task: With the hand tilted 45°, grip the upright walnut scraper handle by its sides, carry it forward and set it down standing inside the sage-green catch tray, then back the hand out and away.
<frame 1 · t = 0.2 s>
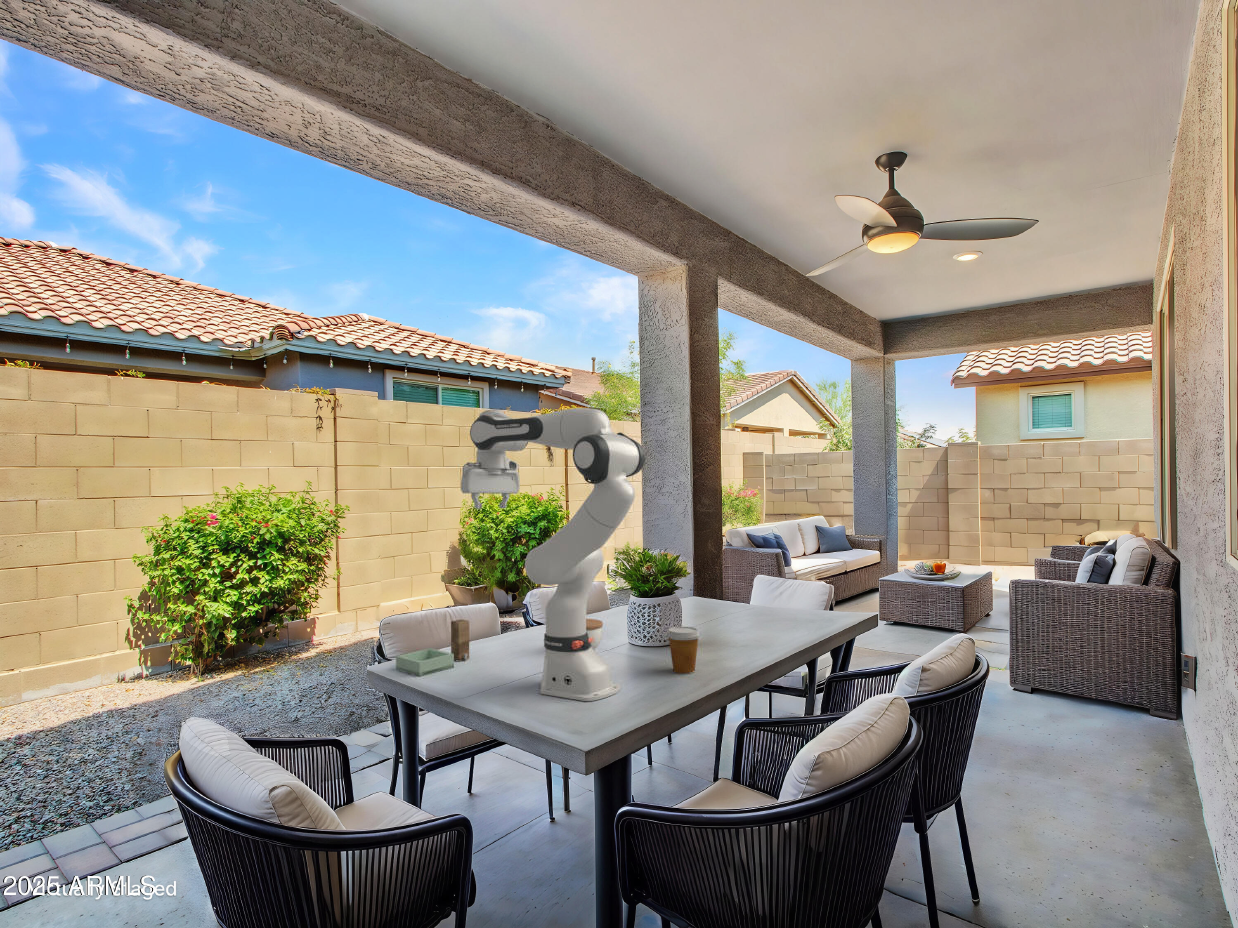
hand: (490, 508, 198), 48 cm above the table, tool pointing down, fingers open, 8 cm apart
lidded bowl: (584, 650, 216), on the table
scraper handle: (460, 659, 206), on the table
catch tray: (425, 668, 196), on the table
disposable coffee cup: (683, 671, 190), on the table
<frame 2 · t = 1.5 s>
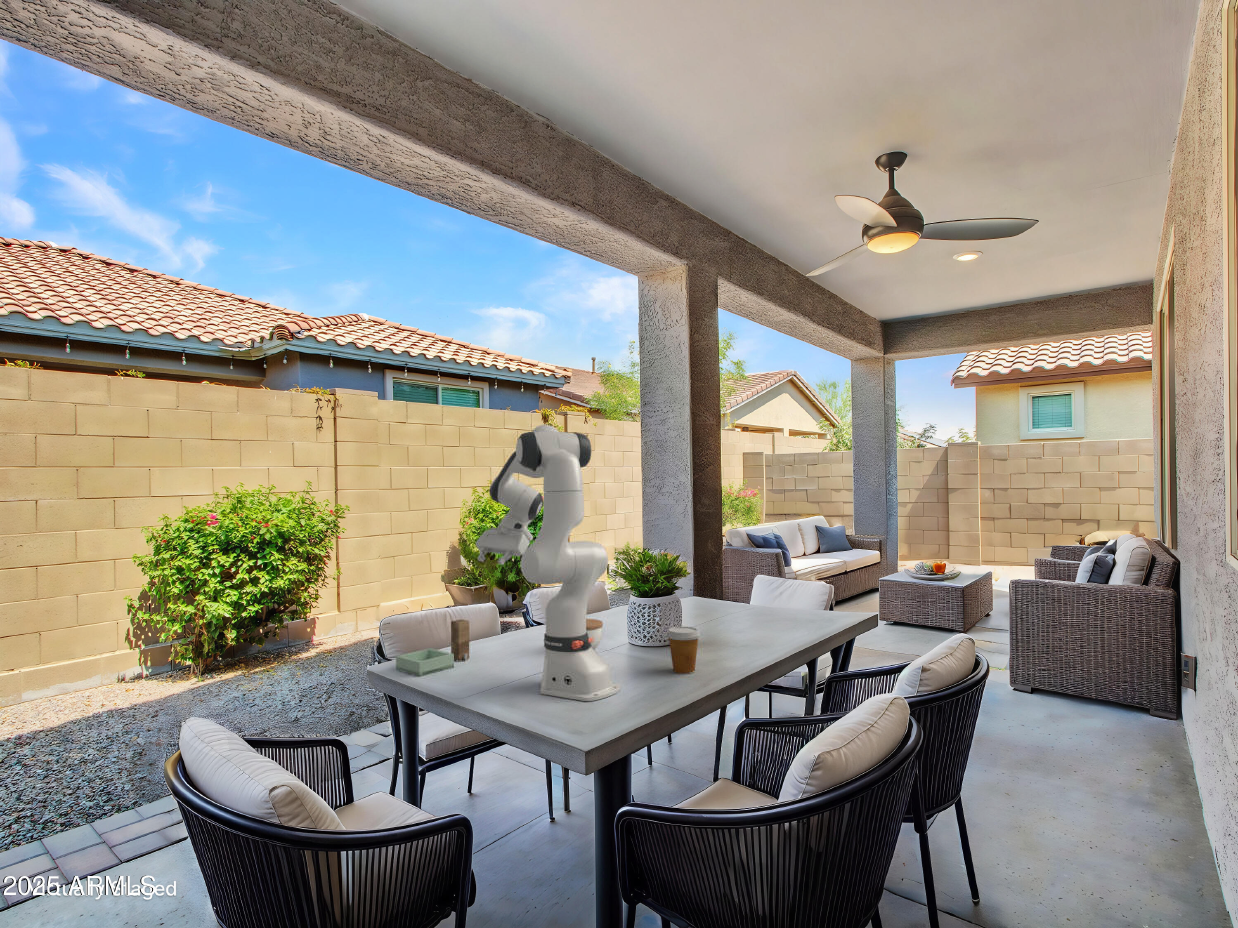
hand: (489, 561, 216), 30 cm above the table, tool tilted 45°, fingers open, 8 cm apart
nothing on the table moved.
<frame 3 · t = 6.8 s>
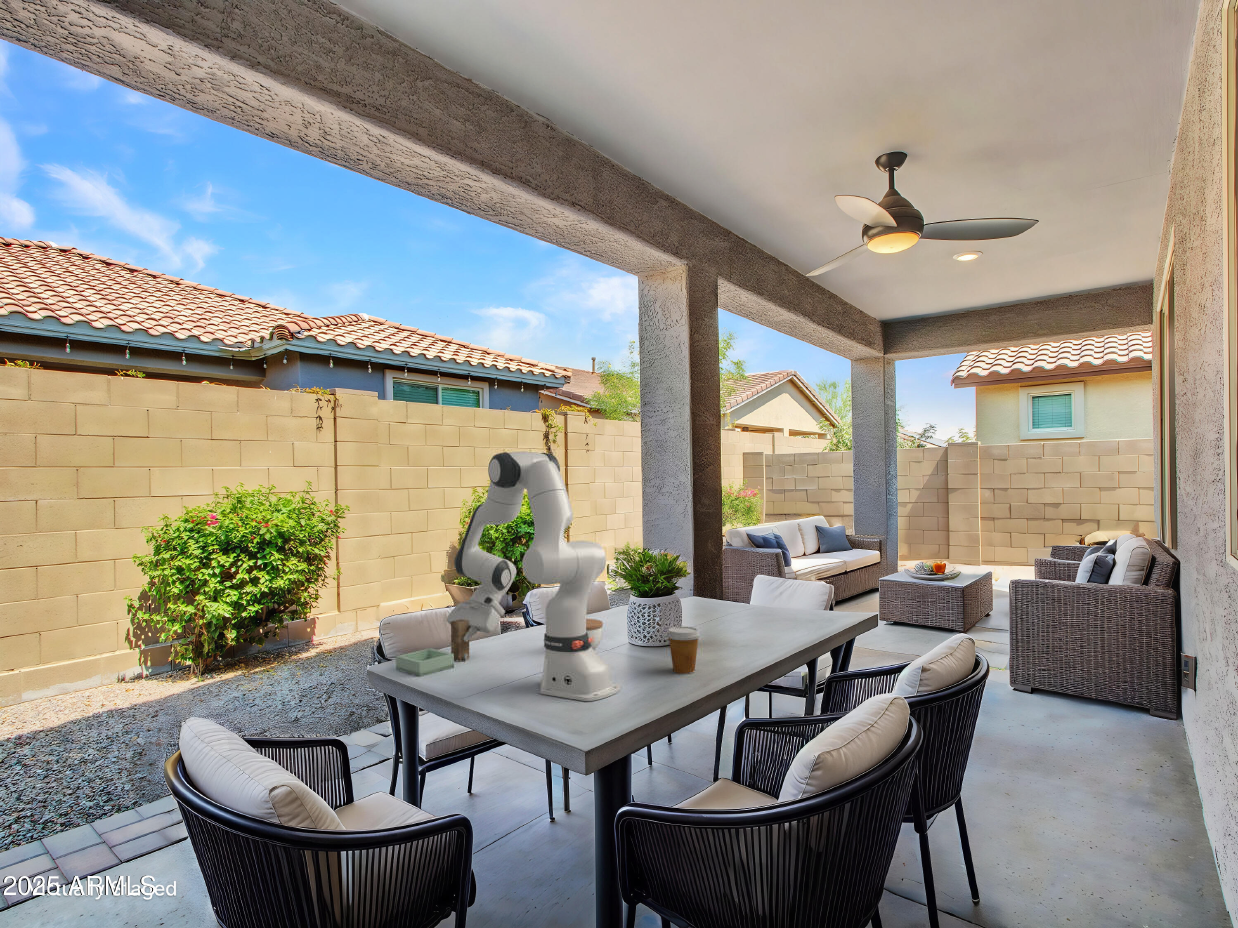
hand: (458, 639, 205), 6 cm above the table, tool tilted 45°, fingers closed on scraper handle, 4 cm apart
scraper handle: (460, 659, 206), on the table, touching gripper
everything else where it was.
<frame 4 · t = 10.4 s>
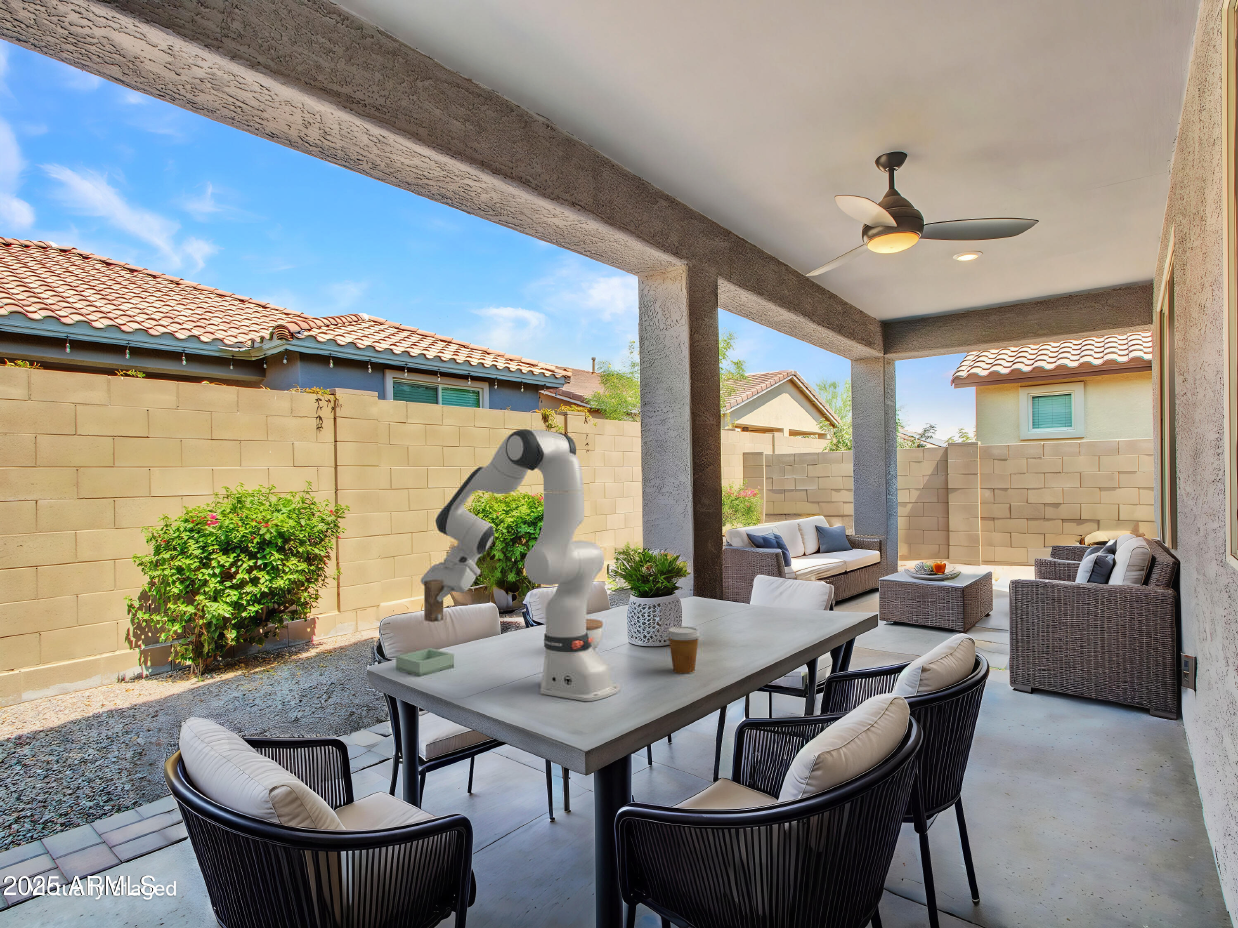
hand: (432, 599, 198), 20 cm above the table, tool tilted 45°, fingers closed on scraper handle, 4 cm apart
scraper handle: (433, 620, 199), point 14 cm above the table, touching gripper
everything else where it was.
when the fingers open (9 cm above the table, at t = 14.4 s): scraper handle drops 2 cm, resting on catch tray.
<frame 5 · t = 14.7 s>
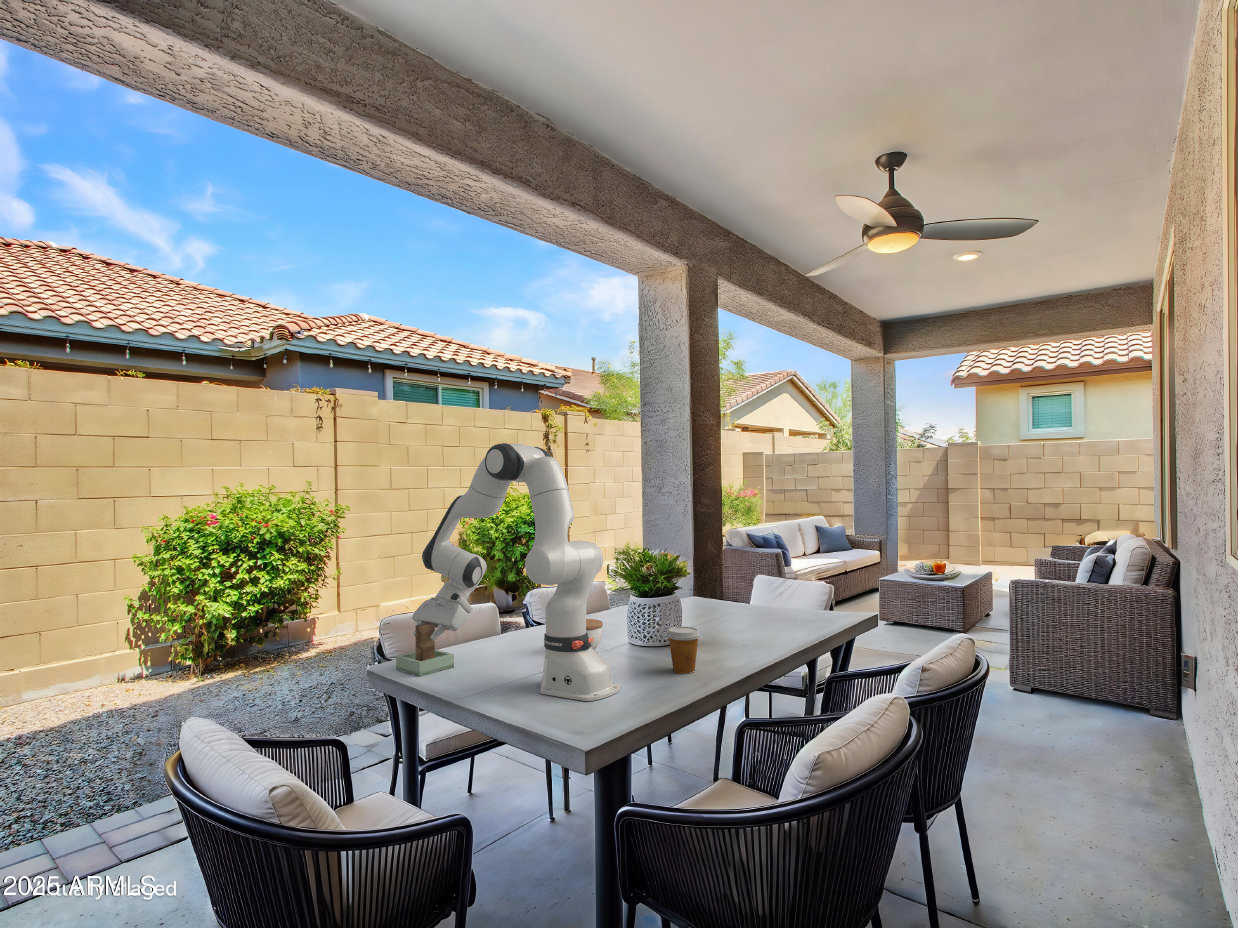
hand: (423, 637, 195), 9 cm above the table, tool tilted 45°, fingers open, 6 cm apart
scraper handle: (425, 665, 196), point 1 cm above the table, touching catch tray
everything else where it was.
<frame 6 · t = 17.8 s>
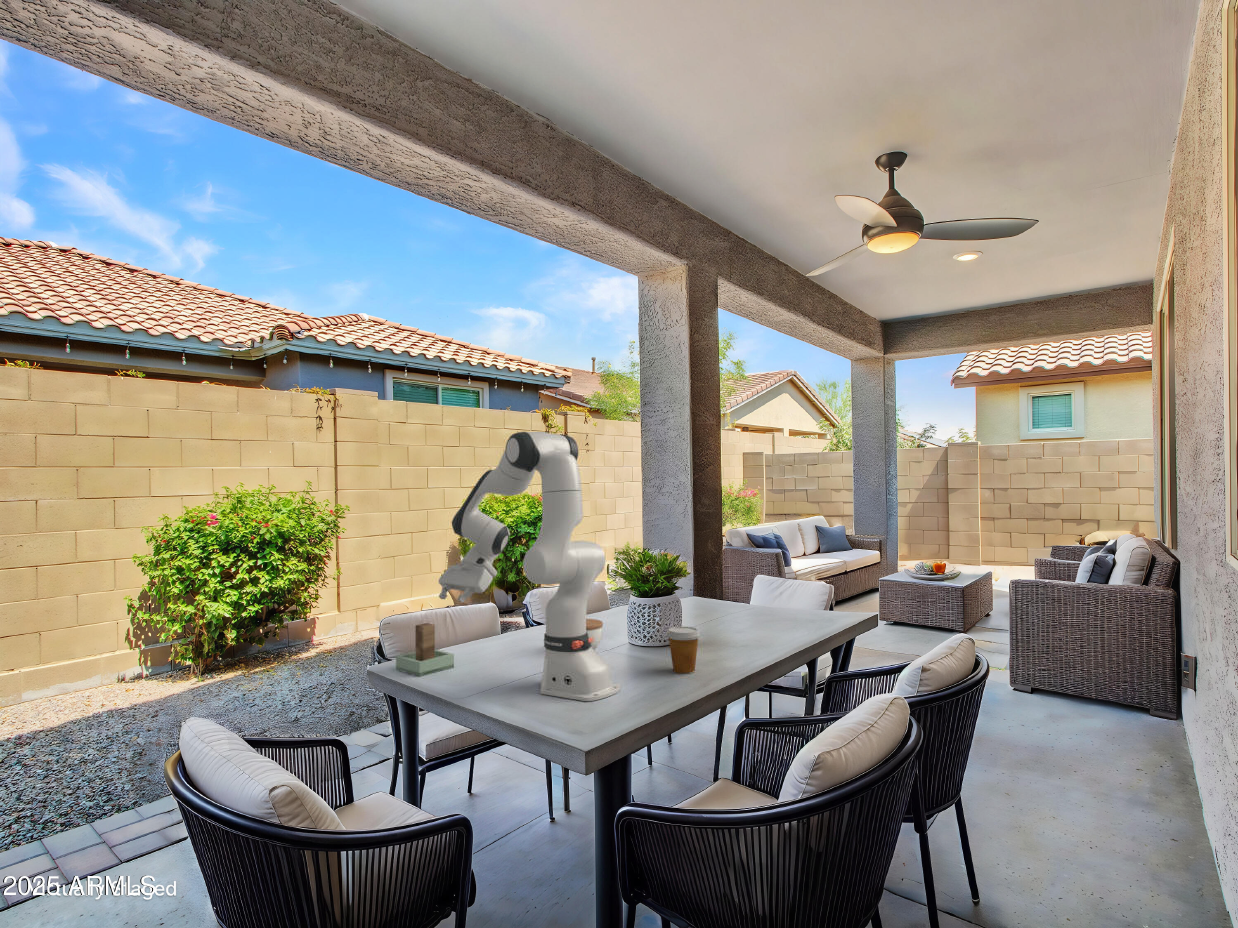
hand: (450, 599, 204), 19 cm above the table, tool tilted 45°, fingers open, 8 cm apart
nothing on the table moved.
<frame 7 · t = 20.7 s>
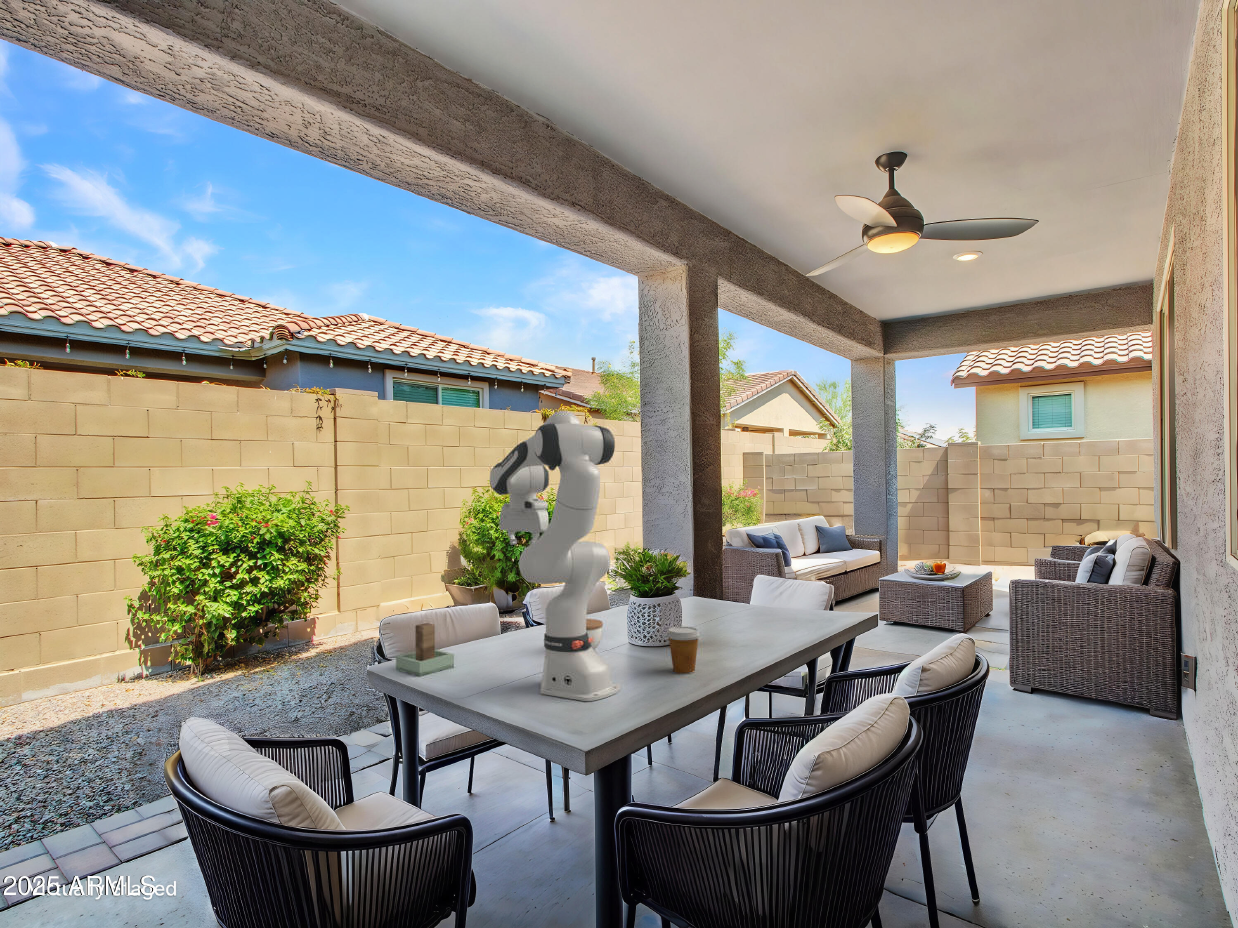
hand: (523, 545, 215), 35 cm above the table, tool pointing down, fingers open, 8 cm apart
nothing on the table moved.
at the end: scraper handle inside the target area on the catch tray (0.0 cm from its centre), point 1.0 cm above the catch tray's base; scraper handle tilted 0°; the gripper is holding nothing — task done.
